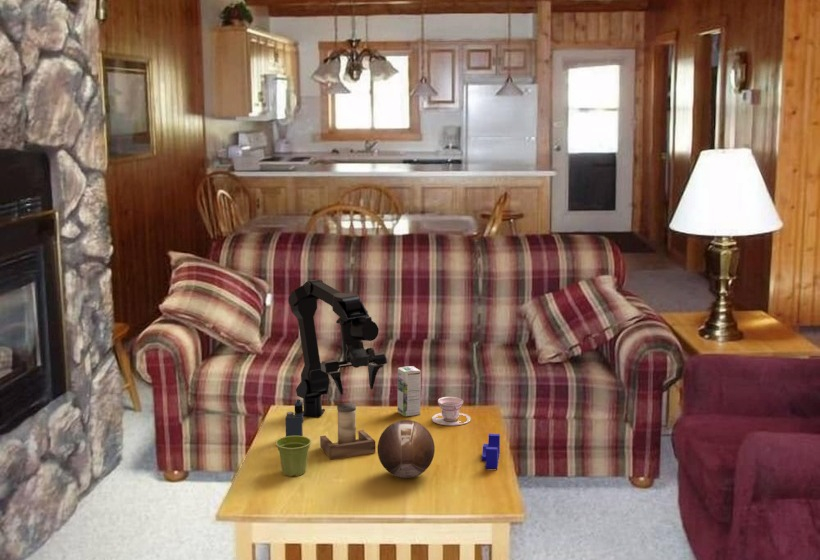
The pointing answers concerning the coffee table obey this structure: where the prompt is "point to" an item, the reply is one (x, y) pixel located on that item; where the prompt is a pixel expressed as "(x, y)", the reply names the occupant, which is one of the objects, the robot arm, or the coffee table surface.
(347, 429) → the lidded tumbler
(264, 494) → the coffee table surface
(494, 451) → the blue stepped block
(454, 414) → the teacup
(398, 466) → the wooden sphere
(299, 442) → the plant pot
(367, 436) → the cradle
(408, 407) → the syrup box
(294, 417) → the vaping device
